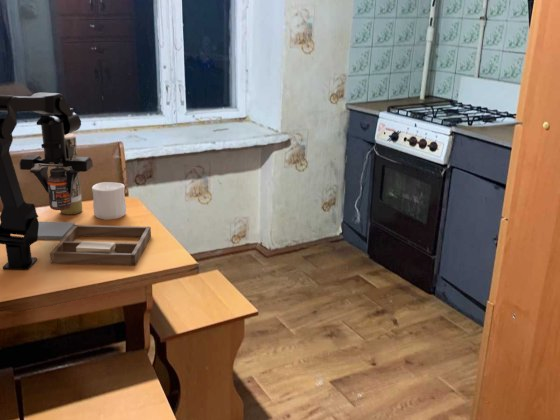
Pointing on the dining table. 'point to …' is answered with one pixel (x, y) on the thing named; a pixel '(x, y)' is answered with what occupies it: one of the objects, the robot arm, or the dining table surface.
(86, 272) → the dining table surface
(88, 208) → the dining table surface
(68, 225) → the mat
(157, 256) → the dining table surface
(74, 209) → the patterned tall cylinder
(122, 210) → the cup
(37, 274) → the dining table surface
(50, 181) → the supplement bottle
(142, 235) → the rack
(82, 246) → the offcut top
